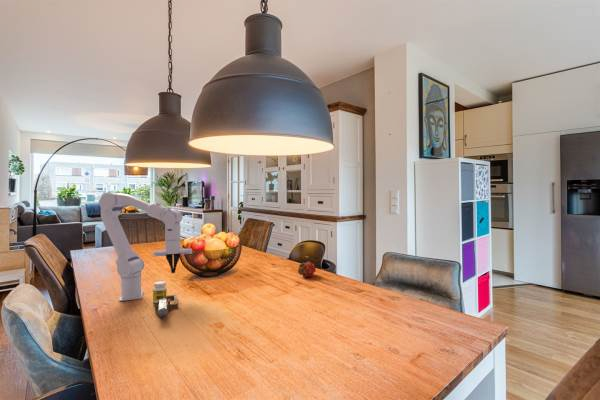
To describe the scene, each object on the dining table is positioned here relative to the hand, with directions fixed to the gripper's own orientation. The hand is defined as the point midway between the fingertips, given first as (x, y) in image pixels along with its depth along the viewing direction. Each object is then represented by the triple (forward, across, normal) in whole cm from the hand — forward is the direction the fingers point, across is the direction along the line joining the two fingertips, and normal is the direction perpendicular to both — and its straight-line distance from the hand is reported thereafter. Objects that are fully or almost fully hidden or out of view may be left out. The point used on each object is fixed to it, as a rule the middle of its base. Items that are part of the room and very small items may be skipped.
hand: (173, 272), depth 125 cm
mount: (+10, +3, +8) cm, 14 cm away
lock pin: (+9, +4, +19) cm, 21 cm away
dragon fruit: (+11, -64, -8) cm, 65 cm away
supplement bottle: (+11, +5, +6) cm, 13 cm away
